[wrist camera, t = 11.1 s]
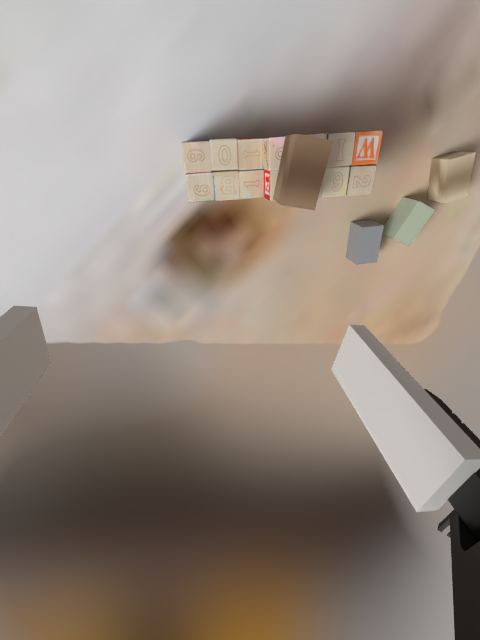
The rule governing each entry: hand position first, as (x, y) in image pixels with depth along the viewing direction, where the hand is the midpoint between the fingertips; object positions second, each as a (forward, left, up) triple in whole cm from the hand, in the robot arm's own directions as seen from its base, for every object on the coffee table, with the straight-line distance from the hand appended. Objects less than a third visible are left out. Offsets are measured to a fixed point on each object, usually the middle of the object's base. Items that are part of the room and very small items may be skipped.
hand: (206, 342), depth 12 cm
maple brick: (-9, +37, -35) cm, 52 cm away
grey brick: (+2, +27, -35) cm, 44 cm away
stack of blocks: (-7, +8, -35) cm, 37 cm away
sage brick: (-2, +33, -35) cm, 48 cm away
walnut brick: (-7, +9, -23) cm, 25 cm away
